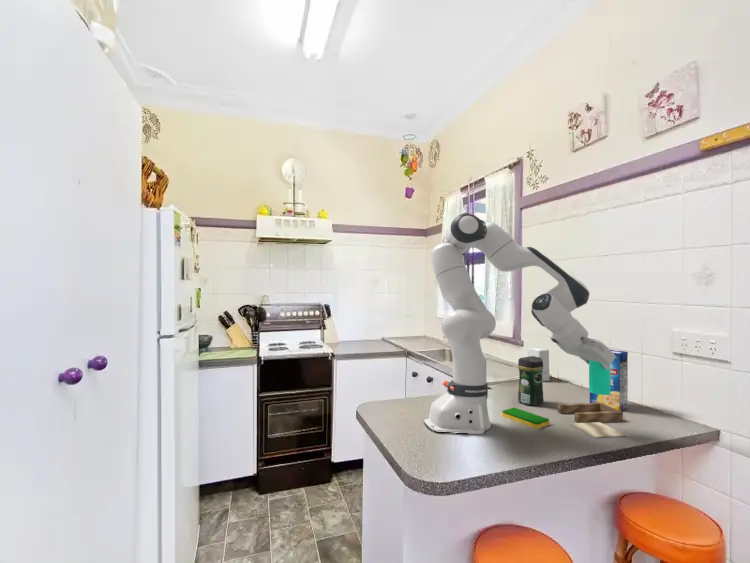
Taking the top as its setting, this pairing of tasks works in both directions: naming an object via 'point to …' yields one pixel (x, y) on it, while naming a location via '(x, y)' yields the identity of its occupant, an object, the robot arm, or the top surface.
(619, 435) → the plate
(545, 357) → the skincare box
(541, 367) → the coffee jar
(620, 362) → the beverage box
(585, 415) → the brown wooden u-shaped frame
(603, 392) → the candle
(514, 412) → the dish sponge
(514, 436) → the top surface
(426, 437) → the top surface
